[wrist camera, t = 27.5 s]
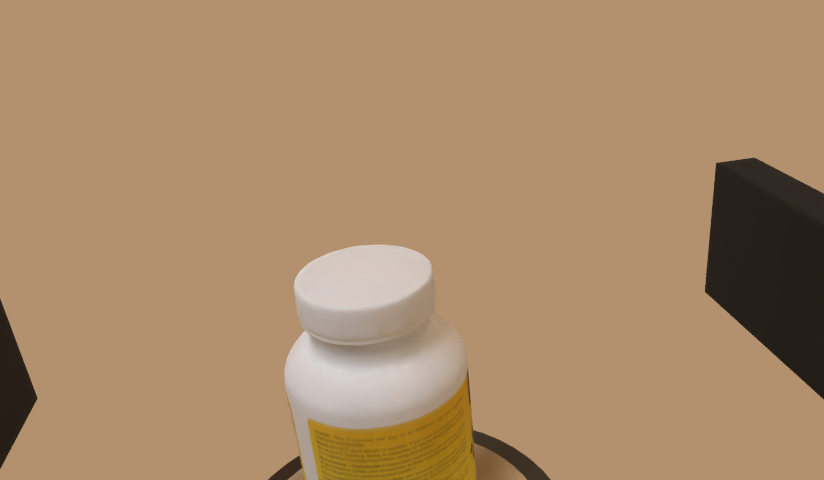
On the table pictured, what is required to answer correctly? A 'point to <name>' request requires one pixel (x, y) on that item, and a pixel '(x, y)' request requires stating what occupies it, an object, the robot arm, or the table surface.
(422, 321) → the pill bottle
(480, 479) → the tall brown block
